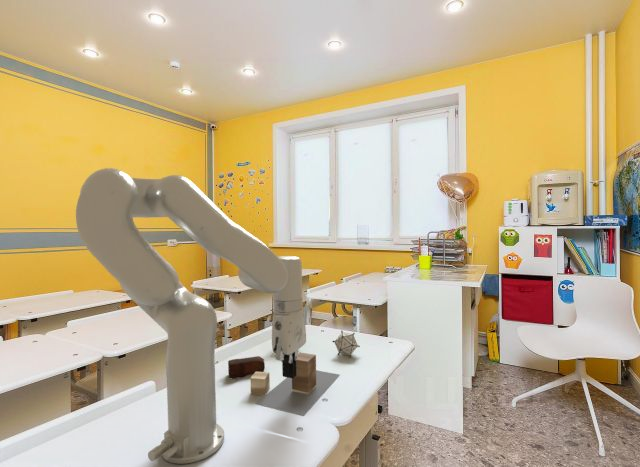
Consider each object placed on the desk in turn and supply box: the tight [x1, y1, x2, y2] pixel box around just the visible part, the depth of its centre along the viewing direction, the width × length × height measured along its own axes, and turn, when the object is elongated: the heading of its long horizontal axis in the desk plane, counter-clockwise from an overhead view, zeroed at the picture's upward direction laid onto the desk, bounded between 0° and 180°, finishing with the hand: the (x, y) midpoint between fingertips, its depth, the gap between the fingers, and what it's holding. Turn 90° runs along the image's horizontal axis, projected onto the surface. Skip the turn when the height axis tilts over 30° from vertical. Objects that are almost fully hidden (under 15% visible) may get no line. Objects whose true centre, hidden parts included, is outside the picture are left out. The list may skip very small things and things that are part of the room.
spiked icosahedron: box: [332, 330, 361, 358], centre depth 120 cm, size 9×8×10 cm
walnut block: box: [292, 352, 317, 395], centre depth 95 cm, size 5×5×9 cm
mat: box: [255, 369, 341, 417], centre depth 96 cm, size 24×14×1 cm, turn 155°
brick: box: [227, 355, 266, 379], centre depth 106 cm, size 11×4×5 cm, turn 111°
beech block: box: [250, 371, 271, 397], centre depth 94 cm, size 4×4×5 cm
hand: (289, 376), depth 88 cm, fingers closed
